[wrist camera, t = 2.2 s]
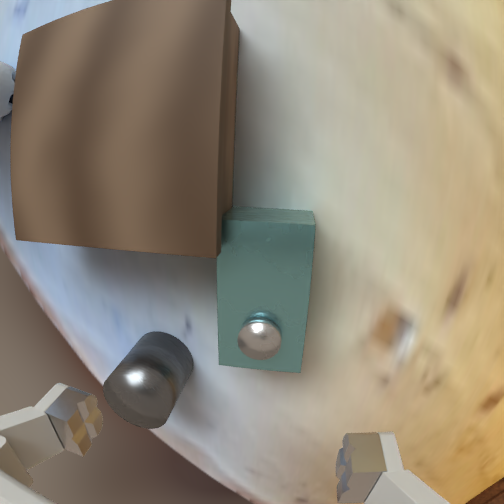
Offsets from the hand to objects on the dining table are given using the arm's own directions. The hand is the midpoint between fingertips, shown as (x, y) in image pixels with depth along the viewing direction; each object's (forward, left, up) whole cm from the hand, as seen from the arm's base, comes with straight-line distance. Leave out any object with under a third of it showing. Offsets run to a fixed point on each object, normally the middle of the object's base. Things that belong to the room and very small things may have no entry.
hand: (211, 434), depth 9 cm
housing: (0, 0, -14) cm, 14 cm away
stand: (+9, -10, -14) cm, 19 cm away
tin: (+8, +8, -14) cm, 17 cm away
